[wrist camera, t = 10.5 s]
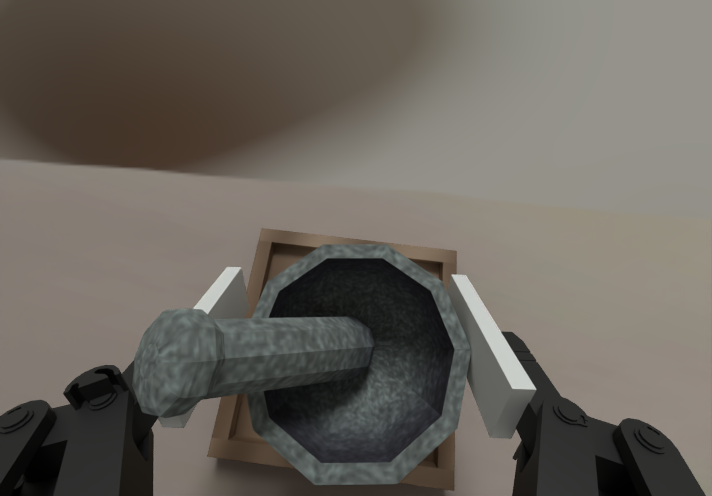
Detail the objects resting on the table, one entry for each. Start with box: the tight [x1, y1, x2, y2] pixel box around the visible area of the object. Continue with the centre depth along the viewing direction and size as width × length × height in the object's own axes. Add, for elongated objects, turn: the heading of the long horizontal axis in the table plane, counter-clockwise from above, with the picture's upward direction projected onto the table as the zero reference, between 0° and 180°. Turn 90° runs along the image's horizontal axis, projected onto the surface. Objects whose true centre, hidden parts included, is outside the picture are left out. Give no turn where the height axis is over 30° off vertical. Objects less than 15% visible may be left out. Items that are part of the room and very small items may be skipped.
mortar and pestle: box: [132, 244, 471, 485], centre depth 12 cm, size 11×9×12 cm
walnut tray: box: [207, 228, 457, 491], centre depth 19 cm, size 15×15×2 cm
